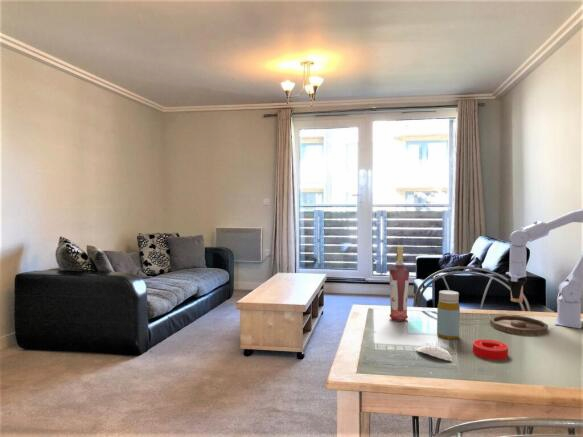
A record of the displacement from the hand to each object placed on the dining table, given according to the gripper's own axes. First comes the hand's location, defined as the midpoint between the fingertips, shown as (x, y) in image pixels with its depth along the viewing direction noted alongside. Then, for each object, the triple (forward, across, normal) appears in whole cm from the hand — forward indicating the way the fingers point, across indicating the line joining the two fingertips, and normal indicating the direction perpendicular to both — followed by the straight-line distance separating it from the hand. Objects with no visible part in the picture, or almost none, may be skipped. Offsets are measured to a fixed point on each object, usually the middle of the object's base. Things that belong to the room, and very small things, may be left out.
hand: (516, 297), depth 170 cm
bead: (+1, 0, 0) cm, 1 cm away
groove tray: (+8, +12, +2) cm, 14 cm away
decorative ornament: (+9, +46, 0) cm, 47 cm away
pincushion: (+9, +58, -12) cm, 60 cm away
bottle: (+8, +37, -15) cm, 41 cm away
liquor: (+8, +28, -36) cm, 46 cm away
